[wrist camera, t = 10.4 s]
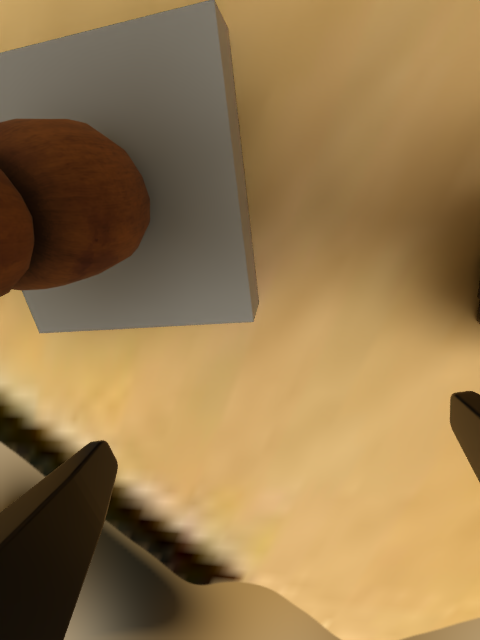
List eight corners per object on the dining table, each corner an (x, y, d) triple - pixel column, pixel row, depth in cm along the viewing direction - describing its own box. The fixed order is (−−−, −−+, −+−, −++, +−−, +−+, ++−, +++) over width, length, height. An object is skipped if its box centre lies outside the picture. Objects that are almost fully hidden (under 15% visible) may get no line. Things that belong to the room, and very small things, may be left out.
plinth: (228, 28, 15) (214, -1, 13) (258, 302, 21) (253, 321, 18) (-16, 85, 18) (-70, 70, 15) (68, 314, 24) (39, 333, 21)
